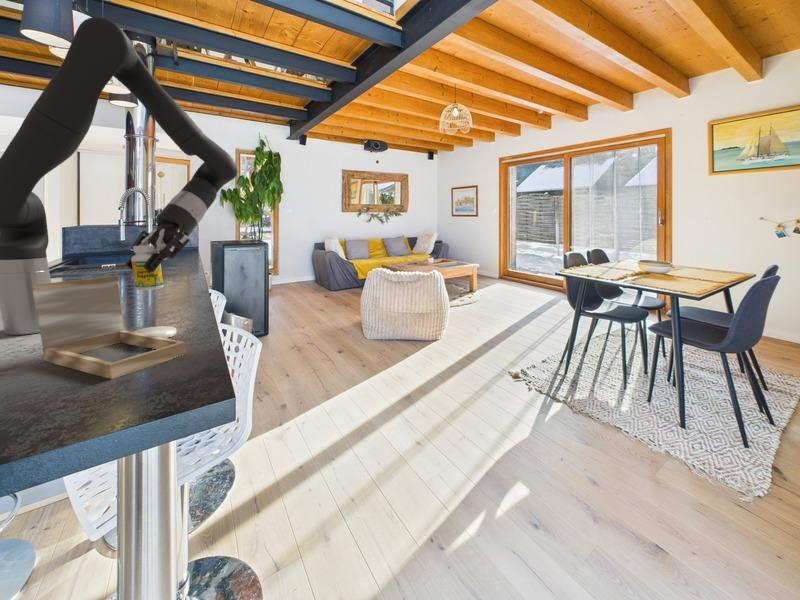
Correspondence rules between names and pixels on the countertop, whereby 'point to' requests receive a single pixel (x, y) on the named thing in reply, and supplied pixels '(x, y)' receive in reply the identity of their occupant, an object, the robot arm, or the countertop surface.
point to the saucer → (158, 331)
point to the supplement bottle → (141, 275)
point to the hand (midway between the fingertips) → (138, 268)
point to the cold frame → (93, 328)
